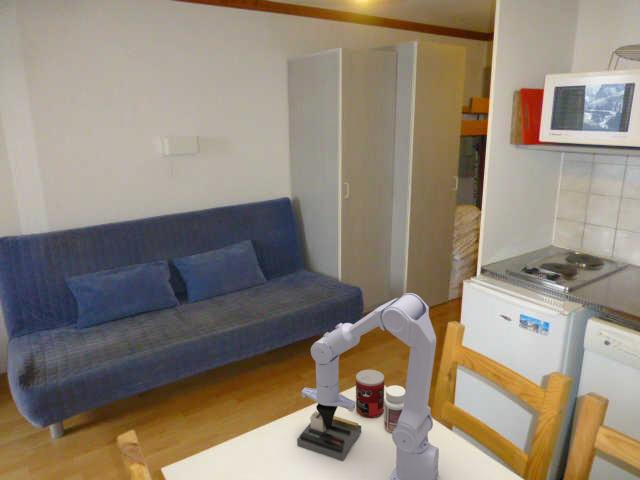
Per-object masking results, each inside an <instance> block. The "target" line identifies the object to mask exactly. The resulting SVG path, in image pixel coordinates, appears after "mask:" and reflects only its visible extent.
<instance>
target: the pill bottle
mask: <svg viewBox="0 0 640 480" xmlns="http://www.w3.org/2000/svg"><path fill="white" fill-rule="evenodd" d="M405 390H406V388H404V387H403V386H401V385H389V386H388V387H387V388H386V389H385V391H386V392H385V397H384V410H383V413H384V414H383V423H384V424H383V426H384V429H385V430H386V431H388V432H389V433H393V431H394V429H395V428H396V427H397V424H398V419H399V417H400V415H401V412H402V410H403V407H404V398H405Z"/></svg>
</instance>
